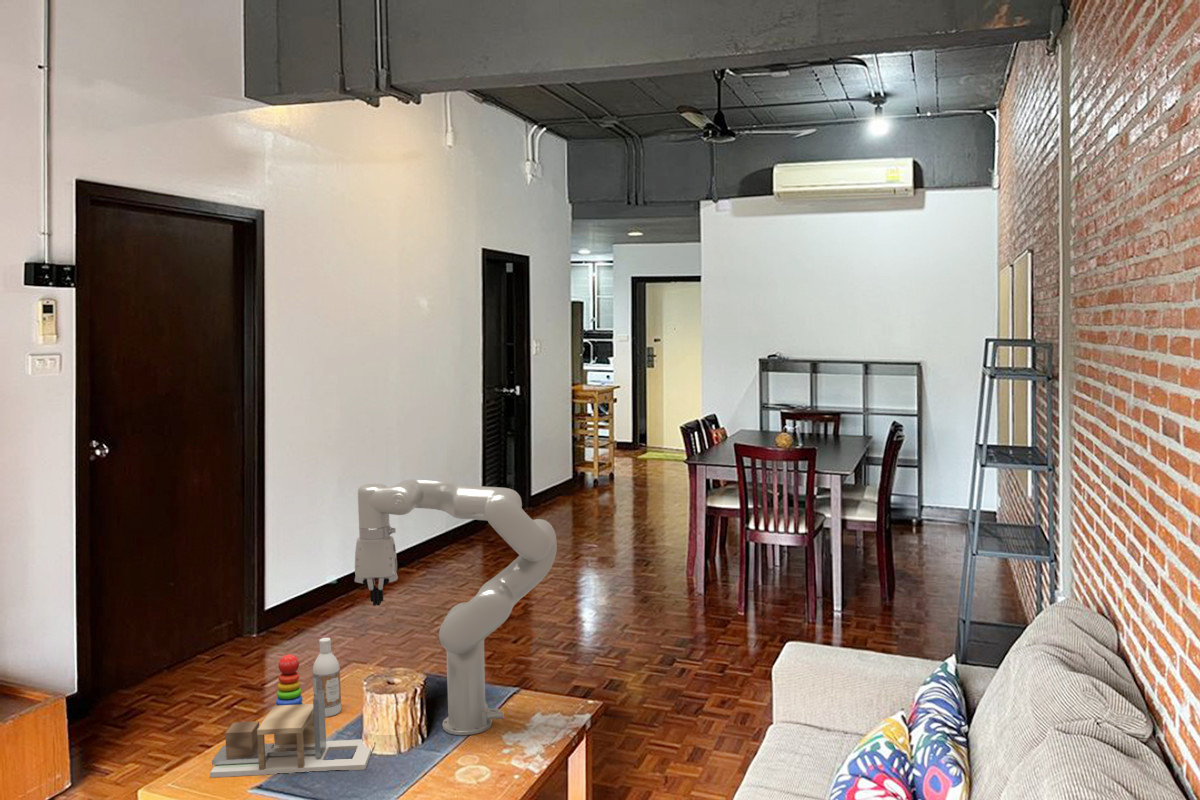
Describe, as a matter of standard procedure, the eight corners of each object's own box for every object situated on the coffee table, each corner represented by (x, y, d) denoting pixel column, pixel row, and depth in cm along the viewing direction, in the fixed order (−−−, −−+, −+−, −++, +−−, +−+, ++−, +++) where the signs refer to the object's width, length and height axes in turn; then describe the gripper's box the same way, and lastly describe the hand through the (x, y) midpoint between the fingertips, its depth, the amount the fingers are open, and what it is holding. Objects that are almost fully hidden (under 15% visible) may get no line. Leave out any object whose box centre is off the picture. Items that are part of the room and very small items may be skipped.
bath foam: (322, 719, 246) (319, 645, 245) (309, 712, 251) (306, 639, 250) (346, 712, 251) (343, 639, 250) (333, 705, 256) (330, 633, 255)
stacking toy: (287, 735, 237) (284, 662, 236) (266, 728, 241) (263, 657, 240) (312, 723, 244) (309, 653, 243) (291, 717, 248) (288, 648, 247)
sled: (327, 744, 228) (324, 688, 227) (319, 759, 220) (317, 701, 219) (223, 749, 226) (220, 692, 225) (211, 764, 218) (208, 706, 217)
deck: (375, 743, 231) (375, 738, 231) (365, 769, 217) (364, 764, 217) (229, 750, 229) (229, 745, 229) (210, 777, 215) (209, 772, 215)
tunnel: (317, 741, 230) (315, 703, 230) (303, 767, 216) (301, 727, 216) (275, 743, 230) (274, 705, 229) (259, 769, 216) (257, 729, 215)
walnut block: (260, 745, 225) (259, 721, 225) (252, 756, 219) (251, 731, 219) (234, 746, 225) (233, 722, 225) (226, 758, 219) (225, 733, 219)
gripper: (406, 529, 242) (408, 598, 243) (347, 531, 241) (350, 601, 242) (402, 535, 234) (404, 607, 236) (341, 537, 233) (344, 609, 235)
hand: (377, 604), depth 239 cm, fingers closed
